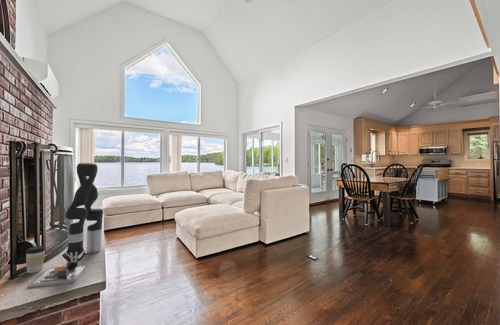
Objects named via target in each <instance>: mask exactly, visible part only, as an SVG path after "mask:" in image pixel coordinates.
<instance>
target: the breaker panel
mask: <svg viewBox="0 0 500 325" xmlns="http://www.w3.org/2000/svg"><path fill="white" fill-rule="evenodd" d="M86 269H87V266H86V265H83V266H81V265H80V266H77V267H76V268H73V269H72V267H71V262H68V261H66V266H64V269H60V270H59V271H58V274H55V275H54V268H49V269H47V268H46V269H42V271H41V272H40V273H38V274H37V275H36V276H35V277H34V278H32V280H30V281H29V282H28V283H27V285H26V286H27V288H36V287H43V286H51V285H53V286H54V285H61V284H62V285H64V284H71V283H76V281H77V280H78V279H79V278H80V277H81V275H82V274H83V273H84V272H85V271H86Z"/></svg>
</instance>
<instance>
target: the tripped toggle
mask: <svg viewBox="0 0 500 325" xmlns="http://www.w3.org/2000/svg"><path fill="white" fill-rule="evenodd" d="M64 267H66V266H65V265H64V264H58V265H56V266H54V268H53V269H54V275H55V274H58V271H59V270H60V269H64Z"/></svg>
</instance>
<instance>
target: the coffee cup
mask: <svg viewBox="0 0 500 325" xmlns="http://www.w3.org/2000/svg"><path fill="white" fill-rule="evenodd" d="M33 246H34V245H31V247H29V248H28V249H27V250H26V251H25V255H26V256H25V265H26V272H27V274H34V273H33V272H35V273H37V271H38V272H40V271H41V269H42V270H43V265H44V263H45V262H44V261H45V254H46V253H45V251H46V247H45V246H44V245H37V246H38V247H33ZM39 270H40V271H39Z"/></svg>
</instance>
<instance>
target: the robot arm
mask: <svg viewBox="0 0 500 325" xmlns="http://www.w3.org/2000/svg"><path fill="white" fill-rule="evenodd" d="M76 174H77V177H78V180H79V183H80V186H79V187H78V188H77V190H76V191H75V194H74V196H73V200H72V202H71V204H70V206H69V207H68V209H67V210H66V212H65V217H66V219H67V220H70V221H71V220H78V221H75V222H72V223H70V224H69V226H68V237H67V250H66V252H63V254H62V255H61V257H62V258H63V259H64V260H66V262H71V267H72V269H73V268H76V267H79V266H78V265H79V262H80V261H82V259H83V258H84V257H85V256H86V255H87V254H95V253H98V252H100V251H101V250H102V228H103V217H104V211H103V208H92V206H93V204H94V203H95V202H96V201H97V200H98V197H99V194H98V193H99V192H98V188H97V187H96V185H95V184H94V182H95V179H96V176H97V174H98V165H97V164H96V163H93V162H79V163H78V164H77V165H76ZM82 206H84V207H82ZM86 221H87V222H95V223H92V224H89V225H88V226H87V227H86V228H87V229H86V230H87V231H86V249H84V234H85V233H84V228H85V227H84V226H85V222H86ZM80 255H81V256H80Z"/></svg>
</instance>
